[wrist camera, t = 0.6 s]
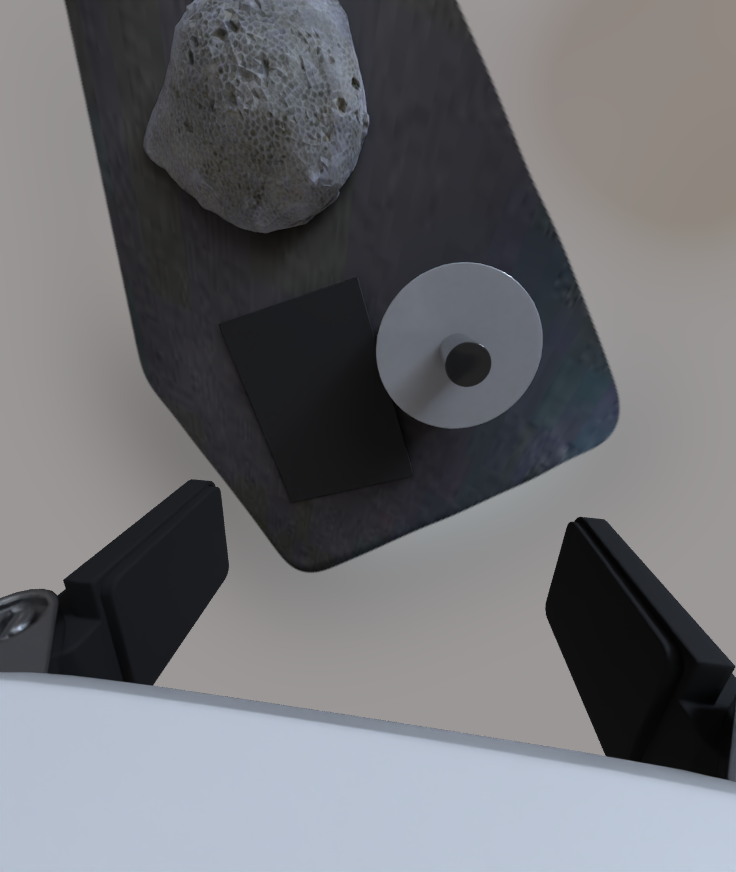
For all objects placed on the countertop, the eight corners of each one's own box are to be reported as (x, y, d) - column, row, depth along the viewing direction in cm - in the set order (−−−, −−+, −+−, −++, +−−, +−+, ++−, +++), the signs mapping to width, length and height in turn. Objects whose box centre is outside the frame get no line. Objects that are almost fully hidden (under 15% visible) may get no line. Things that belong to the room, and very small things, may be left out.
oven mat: (221, 323, 35) (218, 324, 35) (358, 277, 32) (357, 276, 32) (293, 499, 41) (292, 502, 41) (413, 473, 38) (413, 476, 38)
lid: (407, 241, 25) (405, 221, 19) (567, 294, 25) (619, 292, 19) (358, 397, 29) (344, 423, 23) (496, 442, 29) (519, 481, 23)
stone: (235, -162, 21) (403, 11, 20) (293, -22, 29) (418, 110, 28) (85, 105, 26) (215, 255, 25) (167, 166, 34) (270, 284, 33)
